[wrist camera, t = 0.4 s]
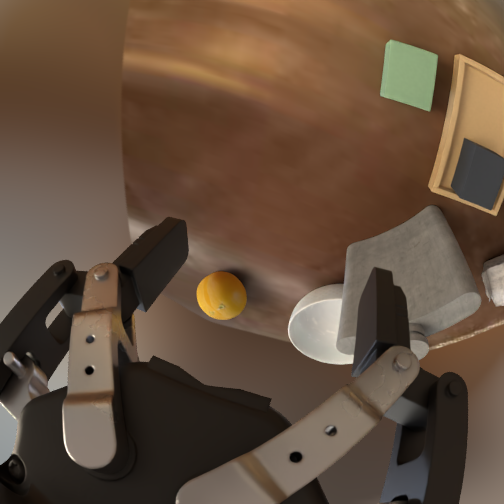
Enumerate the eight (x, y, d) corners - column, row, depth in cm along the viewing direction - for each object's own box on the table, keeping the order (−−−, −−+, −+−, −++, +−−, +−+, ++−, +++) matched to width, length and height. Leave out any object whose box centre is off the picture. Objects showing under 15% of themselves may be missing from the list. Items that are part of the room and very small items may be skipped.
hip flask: (437, 201, 31) (486, 307, 16) (446, 224, 32) (489, 334, 17) (343, 247, 40) (326, 361, 25) (355, 267, 41) (344, 380, 26)
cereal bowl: (346, 346, 52) (342, 375, 47) (279, 307, 52) (269, 336, 46) (407, 302, 42) (411, 333, 36) (334, 250, 41) (330, 280, 35)
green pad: (385, 43, 22) (390, 39, 19) (428, 57, 21) (438, 55, 18) (379, 95, 26) (383, 97, 23) (421, 108, 25) (430, 111, 22)
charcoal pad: (464, 137, 24) (476, 145, 21) (495, 152, 23) (508, 161, 20) (450, 185, 29) (459, 198, 26) (480, 197, 27) (491, 211, 24)
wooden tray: (454, 54, 19) (460, 53, 18) (522, 92, 17) (529, 93, 15) (427, 186, 30) (431, 191, 29) (491, 210, 28) (496, 216, 26)
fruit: (260, 286, 50) (246, 319, 44) (236, 304, 55) (220, 334, 49) (223, 255, 49) (203, 284, 43) (201, 276, 54) (182, 304, 48)
